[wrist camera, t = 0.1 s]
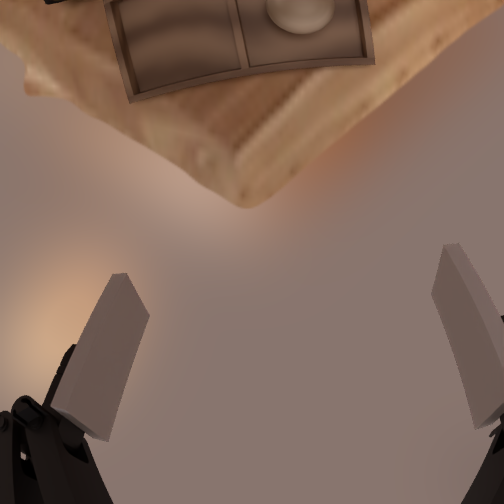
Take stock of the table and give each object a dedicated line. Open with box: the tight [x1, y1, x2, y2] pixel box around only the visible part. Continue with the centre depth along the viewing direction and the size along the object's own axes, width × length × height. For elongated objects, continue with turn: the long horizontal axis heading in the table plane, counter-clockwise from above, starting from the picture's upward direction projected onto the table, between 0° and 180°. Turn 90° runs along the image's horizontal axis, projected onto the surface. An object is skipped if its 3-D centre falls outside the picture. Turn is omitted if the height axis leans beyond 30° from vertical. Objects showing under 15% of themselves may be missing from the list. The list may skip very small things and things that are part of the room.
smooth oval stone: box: [266, 0, 335, 34], centre depth 23 cm, size 7×7×7 cm
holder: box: [103, 0, 375, 103], centre depth 26 cm, size 14×27×3 cm, turn 100°
